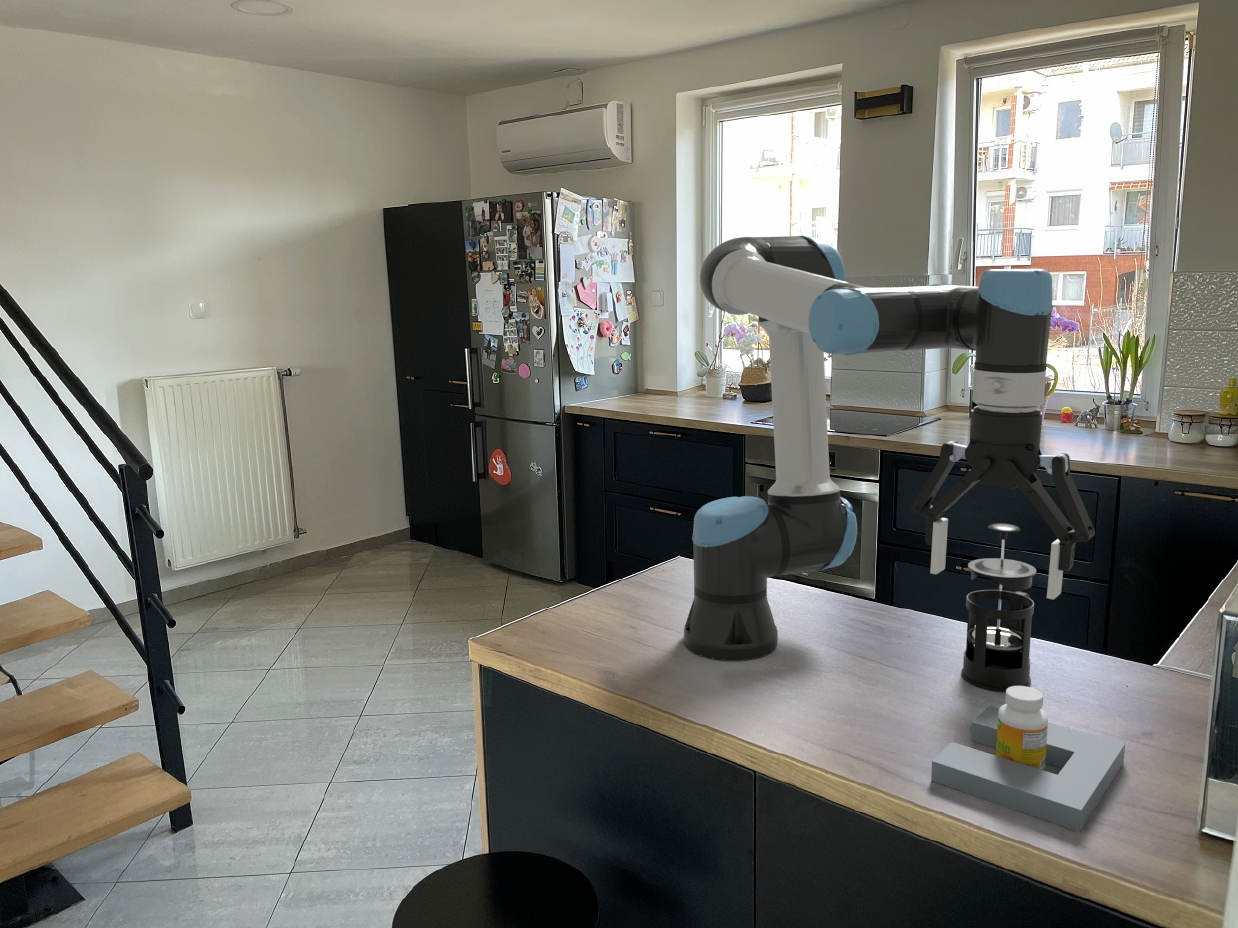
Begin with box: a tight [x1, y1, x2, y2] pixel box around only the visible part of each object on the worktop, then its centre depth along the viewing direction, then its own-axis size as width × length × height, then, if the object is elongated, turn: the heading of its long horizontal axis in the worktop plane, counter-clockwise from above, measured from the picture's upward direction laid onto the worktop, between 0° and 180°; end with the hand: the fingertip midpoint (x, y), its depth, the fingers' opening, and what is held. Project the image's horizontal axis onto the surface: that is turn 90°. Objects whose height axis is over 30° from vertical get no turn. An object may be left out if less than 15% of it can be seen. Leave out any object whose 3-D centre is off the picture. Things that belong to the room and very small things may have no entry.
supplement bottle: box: [995, 686, 1049, 771], centre depth 107 cm, size 5×5×10 cm
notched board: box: [930, 705, 1126, 832], centre depth 107 cm, size 16×18×2 cm
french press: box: [960, 523, 1037, 693], centre depth 130 cm, size 12×9×23 cm
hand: (993, 583), depth 108 cm, fingers open, 13 cm apart
